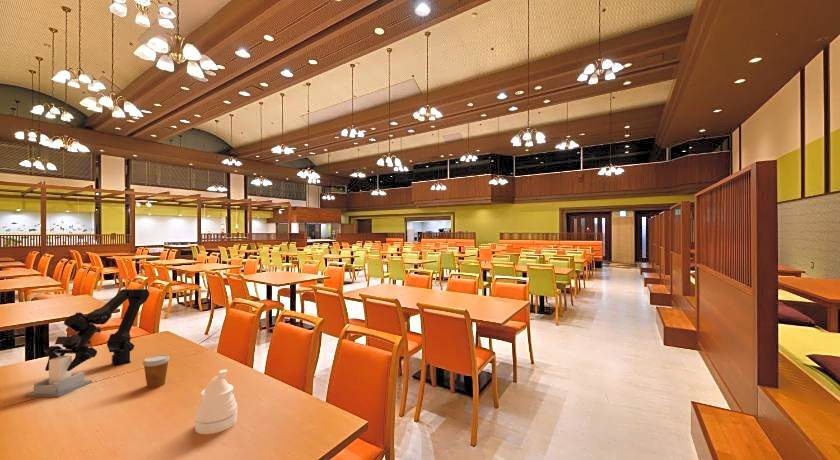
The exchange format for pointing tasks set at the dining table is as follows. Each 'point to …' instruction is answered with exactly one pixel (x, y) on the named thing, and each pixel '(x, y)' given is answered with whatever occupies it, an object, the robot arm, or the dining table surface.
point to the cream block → (59, 369)
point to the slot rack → (58, 386)
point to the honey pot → (216, 407)
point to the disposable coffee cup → (156, 370)
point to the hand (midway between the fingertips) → (57, 370)
